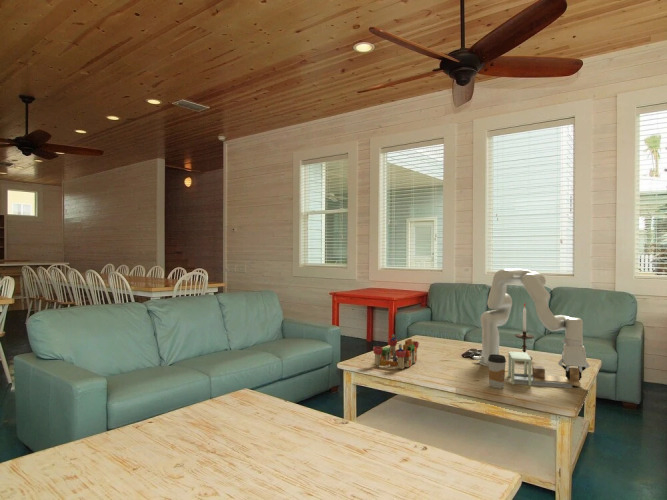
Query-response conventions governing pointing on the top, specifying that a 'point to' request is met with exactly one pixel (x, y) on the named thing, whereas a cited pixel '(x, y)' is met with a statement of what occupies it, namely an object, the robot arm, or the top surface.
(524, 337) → the candlestick
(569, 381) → the strip
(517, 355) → the white stool
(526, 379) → the lane board
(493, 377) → the coffee cup
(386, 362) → the block castle
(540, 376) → the cube
